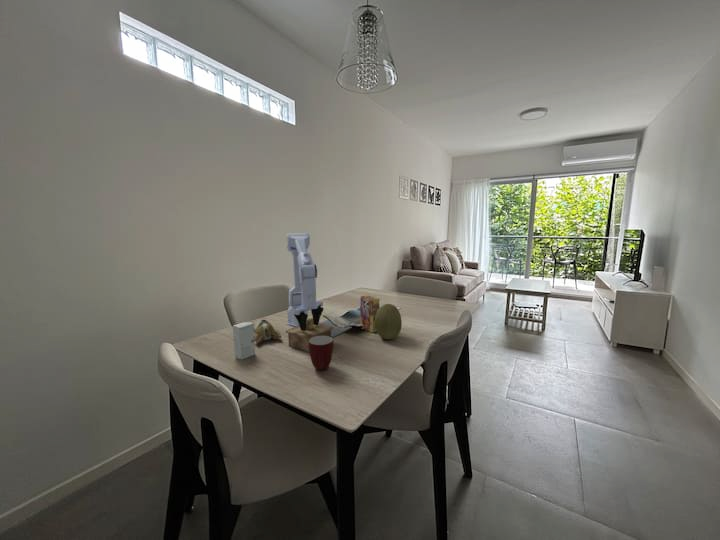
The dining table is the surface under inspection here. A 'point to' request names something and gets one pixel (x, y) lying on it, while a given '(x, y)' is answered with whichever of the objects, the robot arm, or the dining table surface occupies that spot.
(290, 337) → the box
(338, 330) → the mat
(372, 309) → the candy box
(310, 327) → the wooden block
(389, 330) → the fruit
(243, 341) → the skincare box
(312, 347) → the mug
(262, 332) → the ceramic sculpture
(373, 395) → the dining table surface
